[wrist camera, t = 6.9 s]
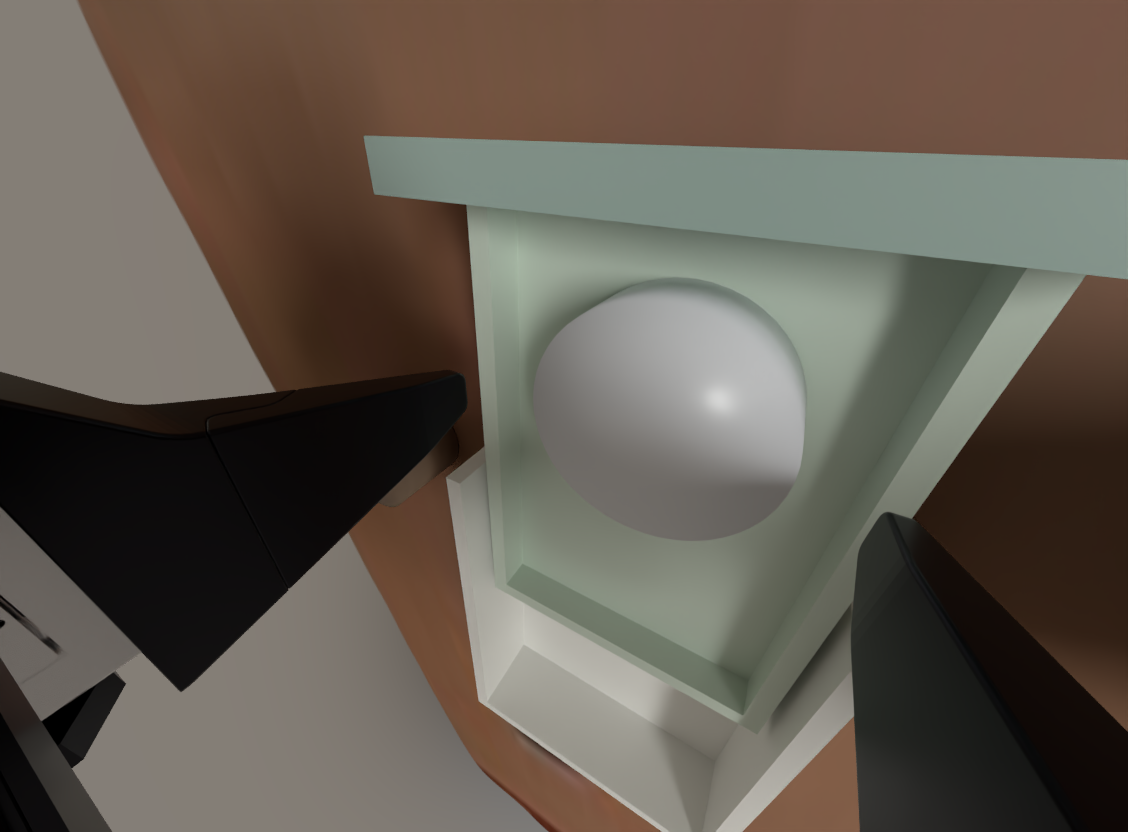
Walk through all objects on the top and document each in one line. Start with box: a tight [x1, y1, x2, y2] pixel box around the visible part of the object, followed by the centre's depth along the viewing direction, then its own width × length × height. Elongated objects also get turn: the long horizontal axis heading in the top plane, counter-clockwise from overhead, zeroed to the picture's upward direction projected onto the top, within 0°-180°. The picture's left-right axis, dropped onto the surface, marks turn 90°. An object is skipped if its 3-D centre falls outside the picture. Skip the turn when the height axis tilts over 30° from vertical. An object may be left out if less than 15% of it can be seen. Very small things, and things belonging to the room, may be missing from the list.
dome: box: [533, 277, 807, 541], centre depth 10 cm, size 6×6×2 cm
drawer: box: [364, 136, 1128, 734], centre depth 11 cm, size 12×16×4 cm
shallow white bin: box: [446, 446, 854, 832], centre depth 17 cm, size 12×16×4 cm
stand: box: [379, 427, 458, 507], centre depth 19 cm, size 4×4×4 cm
